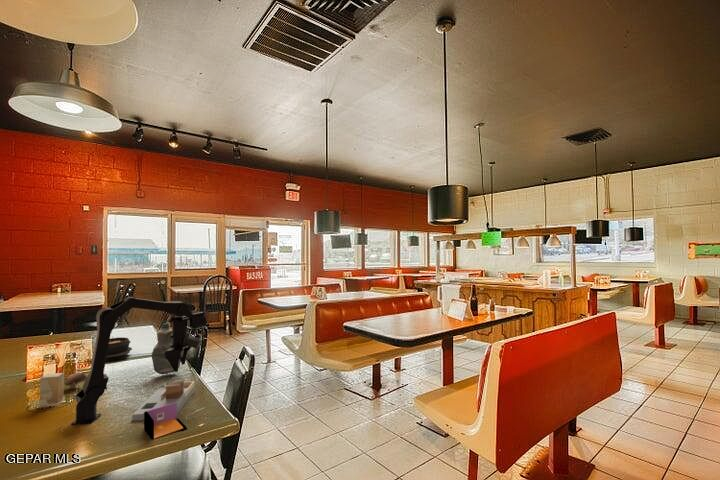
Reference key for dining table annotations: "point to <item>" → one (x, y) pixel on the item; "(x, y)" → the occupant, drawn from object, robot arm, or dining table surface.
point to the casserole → (118, 347)
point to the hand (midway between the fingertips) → (180, 368)
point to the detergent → (162, 351)
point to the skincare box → (51, 389)
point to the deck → (164, 400)
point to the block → (174, 389)
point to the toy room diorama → (162, 421)
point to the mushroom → (75, 379)
